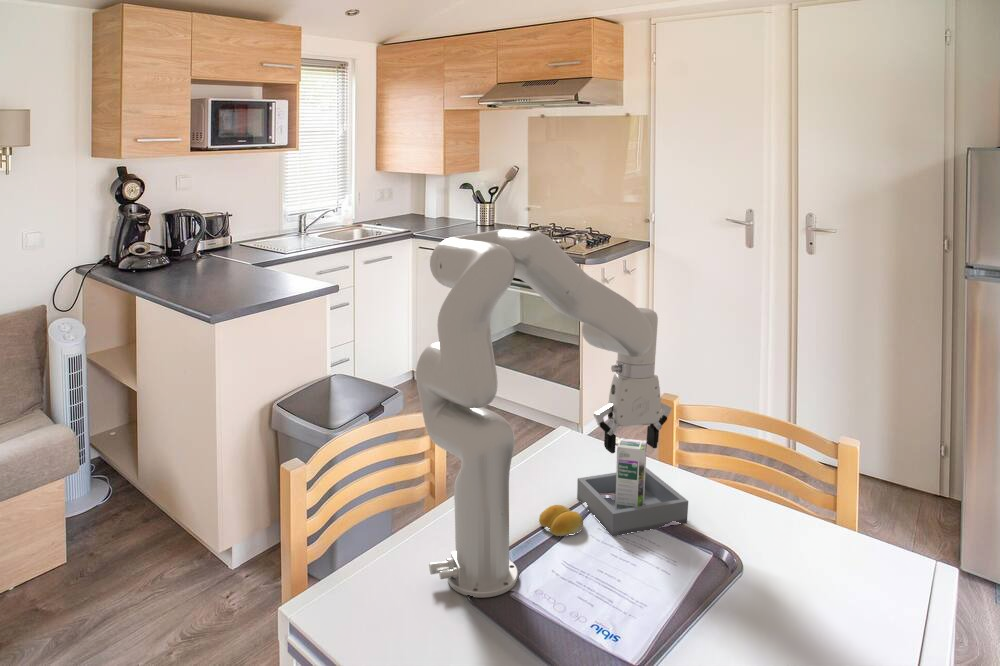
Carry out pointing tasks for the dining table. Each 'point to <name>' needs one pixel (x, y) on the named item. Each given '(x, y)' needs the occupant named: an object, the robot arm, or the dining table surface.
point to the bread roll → (561, 520)
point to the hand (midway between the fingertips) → (631, 448)
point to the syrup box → (630, 473)
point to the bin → (655, 512)
